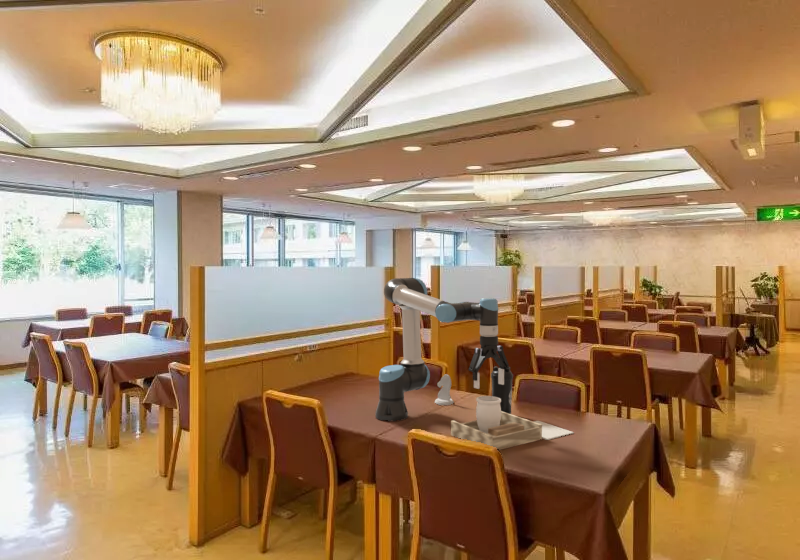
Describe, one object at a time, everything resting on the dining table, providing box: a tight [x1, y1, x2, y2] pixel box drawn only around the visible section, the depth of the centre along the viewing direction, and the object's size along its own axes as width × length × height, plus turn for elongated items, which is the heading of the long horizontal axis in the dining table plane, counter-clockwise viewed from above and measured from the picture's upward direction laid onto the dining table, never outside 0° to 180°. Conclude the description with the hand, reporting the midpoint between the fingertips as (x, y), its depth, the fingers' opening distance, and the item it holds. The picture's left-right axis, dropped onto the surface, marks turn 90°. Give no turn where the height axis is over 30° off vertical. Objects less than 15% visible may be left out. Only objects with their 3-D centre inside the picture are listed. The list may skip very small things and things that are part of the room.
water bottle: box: [490, 365, 514, 414], centre depth 248 cm, size 10×10×23 cm
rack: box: [450, 411, 543, 451], centre depth 216 cm, size 24×28×6 cm
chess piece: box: [434, 373, 454, 406], centre depth 271 cm, size 10×10×15 cm
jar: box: [475, 395, 501, 434], centre depth 220 cm, size 11×10×15 cm
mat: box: [533, 420, 575, 441], centre depth 225 cm, size 20×16×1 cm
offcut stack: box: [488, 422, 524, 437], centre depth 212 cm, size 6×18×6 cm, turn 124°
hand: (489, 386), depth 220 cm, fingers open, 13 cm apart
